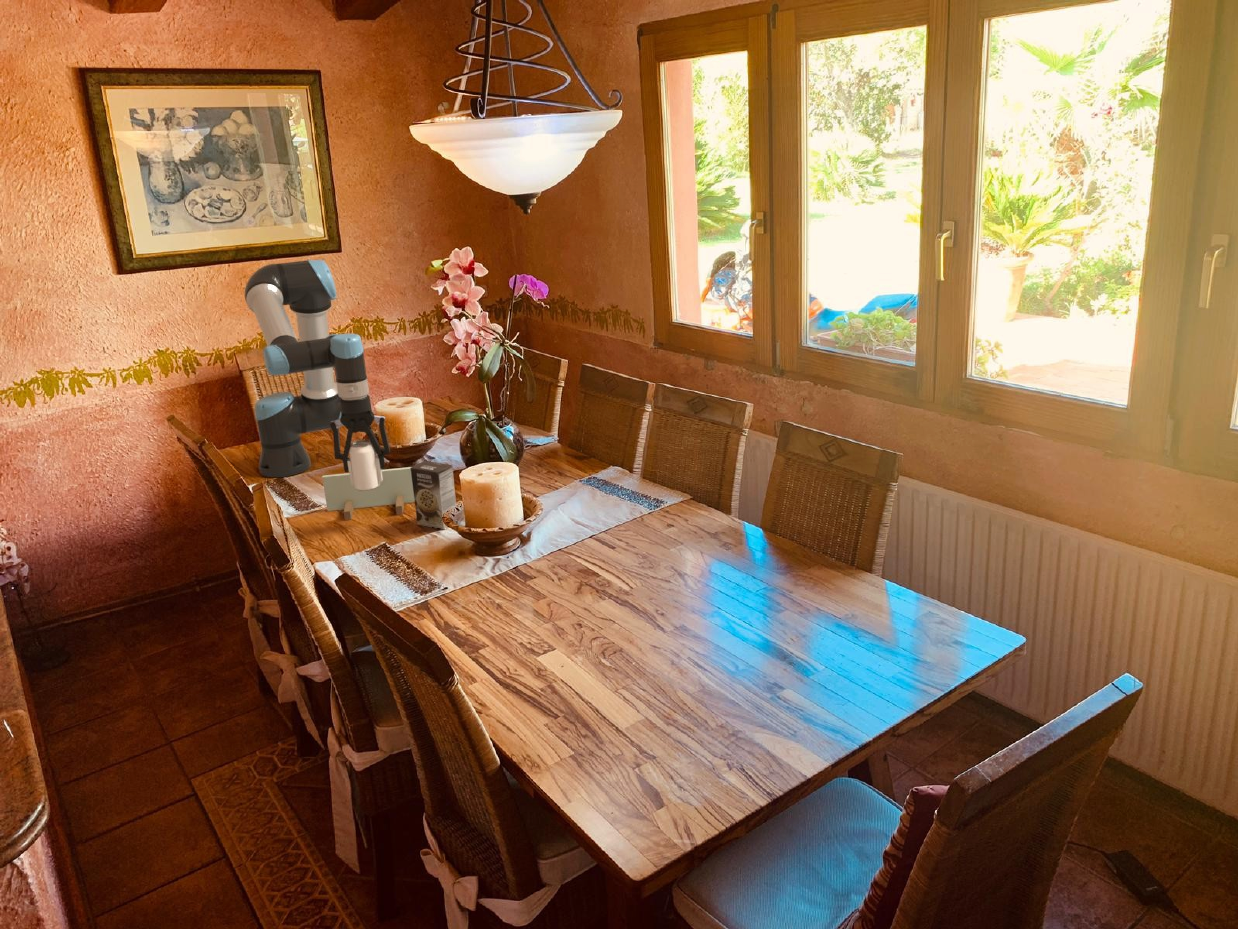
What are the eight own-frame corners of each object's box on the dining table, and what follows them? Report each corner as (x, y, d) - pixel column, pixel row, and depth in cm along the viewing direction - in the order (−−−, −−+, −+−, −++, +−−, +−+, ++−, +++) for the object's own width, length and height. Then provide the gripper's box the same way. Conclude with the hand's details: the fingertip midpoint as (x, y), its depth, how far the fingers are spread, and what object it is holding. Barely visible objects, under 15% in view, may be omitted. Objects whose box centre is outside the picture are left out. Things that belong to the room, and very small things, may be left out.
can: (365, 493, 236) (358, 449, 232) (349, 488, 240) (342, 444, 235) (385, 485, 241) (379, 441, 236) (369, 480, 244) (363, 437, 240)
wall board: (328, 509, 254) (322, 475, 251) (423, 499, 258) (419, 466, 254) (324, 522, 246) (318, 487, 242) (423, 512, 249) (418, 477, 246)
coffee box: (416, 525, 242) (408, 467, 236) (431, 515, 247) (424, 459, 241) (444, 530, 238) (437, 472, 232) (459, 521, 243) (452, 463, 237)
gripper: (312, 403, 227) (326, 490, 235) (392, 396, 230) (404, 482, 238) (316, 395, 234) (330, 480, 242) (394, 388, 237) (405, 472, 245)
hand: (366, 481), depth 240 cm, fingers closed on can, 6 cm apart
